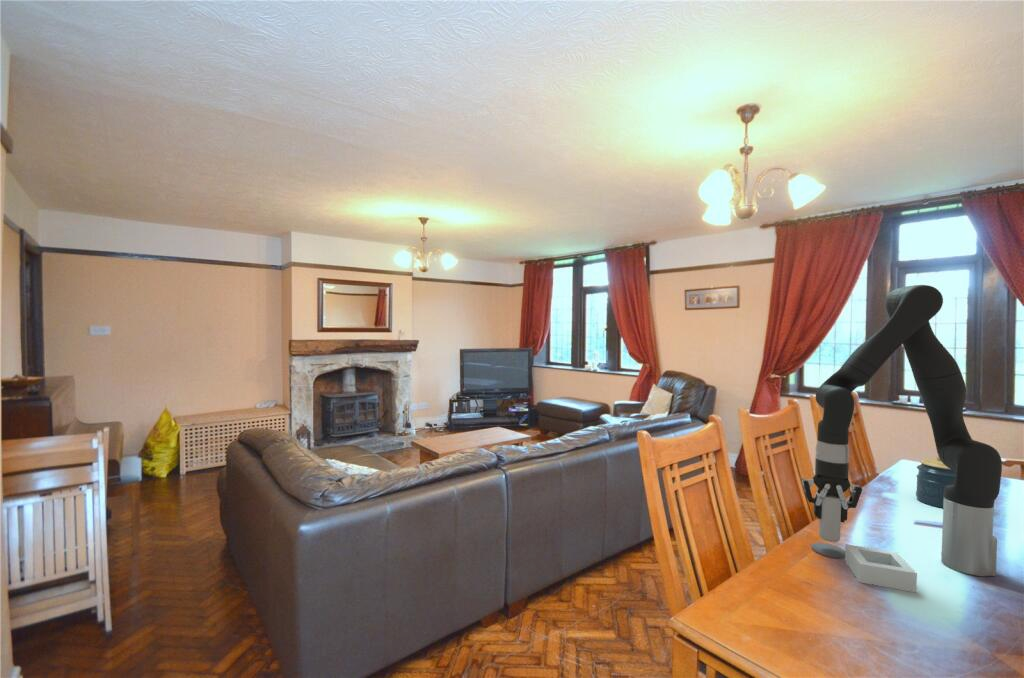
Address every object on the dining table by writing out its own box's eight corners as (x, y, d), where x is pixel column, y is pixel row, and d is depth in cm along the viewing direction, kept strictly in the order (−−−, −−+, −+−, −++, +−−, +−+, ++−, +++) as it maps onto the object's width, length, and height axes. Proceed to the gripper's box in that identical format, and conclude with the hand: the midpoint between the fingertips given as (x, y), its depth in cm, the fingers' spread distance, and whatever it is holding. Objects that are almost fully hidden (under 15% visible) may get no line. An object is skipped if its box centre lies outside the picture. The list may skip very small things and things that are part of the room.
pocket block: (896, 569, 117) (896, 552, 117) (916, 592, 106) (916, 573, 106) (844, 561, 121) (845, 544, 121) (859, 582, 110) (860, 563, 110)
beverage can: (843, 543, 123) (845, 499, 123) (823, 541, 124) (825, 497, 124) (834, 535, 128) (836, 493, 127) (815, 534, 129) (817, 491, 128)
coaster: (841, 547, 128) (841, 545, 128) (851, 561, 121) (851, 559, 121) (808, 542, 131) (808, 540, 131) (815, 555, 124) (815, 553, 124)
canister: (959, 501, 166) (961, 453, 165) (970, 513, 155) (972, 461, 154) (912, 494, 173) (913, 447, 172) (919, 505, 162) (921, 455, 161)
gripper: (858, 457, 126) (856, 518, 127) (798, 451, 131) (796, 510, 132) (868, 465, 119) (866, 529, 120) (804, 458, 124) (802, 520, 125)
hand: (829, 519), depth 126 cm, fingers closed on beverage can, 4 cm apart
